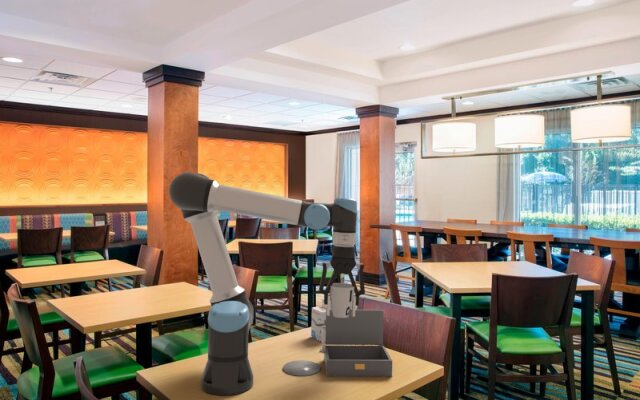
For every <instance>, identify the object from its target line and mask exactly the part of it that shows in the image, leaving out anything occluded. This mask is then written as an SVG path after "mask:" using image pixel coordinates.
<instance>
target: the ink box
mask: <svg viewBox="0 0 640 400" xmlns="http://www.w3.org/2000/svg"><path fill="white" fill-rule="evenodd" d="M326 309H327V305H325V304H324V298H322V299H321V306H314V307H311V325H310V326H311V328H310V329H311V332H310V333H311V334H310V335H311V336H312V337H311V336H310V337H311V338H313V337H314V338H313V339H315V340H317V341H318V340H319V342H320V341H321V342H320V343H322V326H326ZM330 309H331V302H330ZM325 336H326V329H324V343H325Z"/></svg>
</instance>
